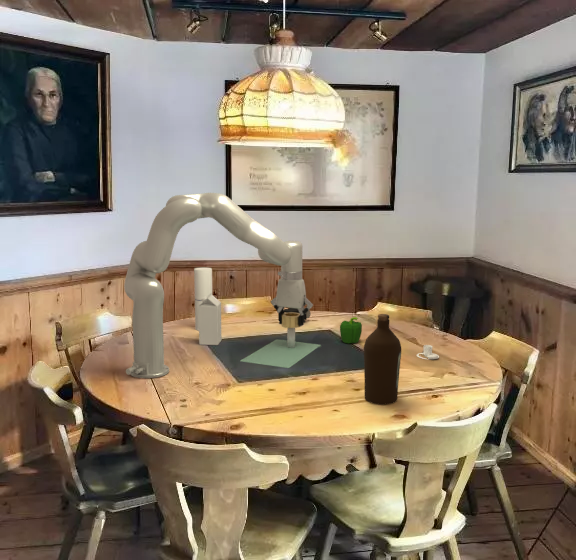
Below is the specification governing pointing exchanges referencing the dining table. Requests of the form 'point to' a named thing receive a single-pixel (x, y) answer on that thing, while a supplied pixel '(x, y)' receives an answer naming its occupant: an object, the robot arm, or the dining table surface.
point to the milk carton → (210, 321)
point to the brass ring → (290, 320)
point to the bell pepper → (350, 331)
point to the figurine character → (297, 312)
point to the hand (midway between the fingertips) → (291, 323)
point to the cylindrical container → (201, 289)
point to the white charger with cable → (428, 353)
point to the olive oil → (382, 363)
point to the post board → (282, 352)
